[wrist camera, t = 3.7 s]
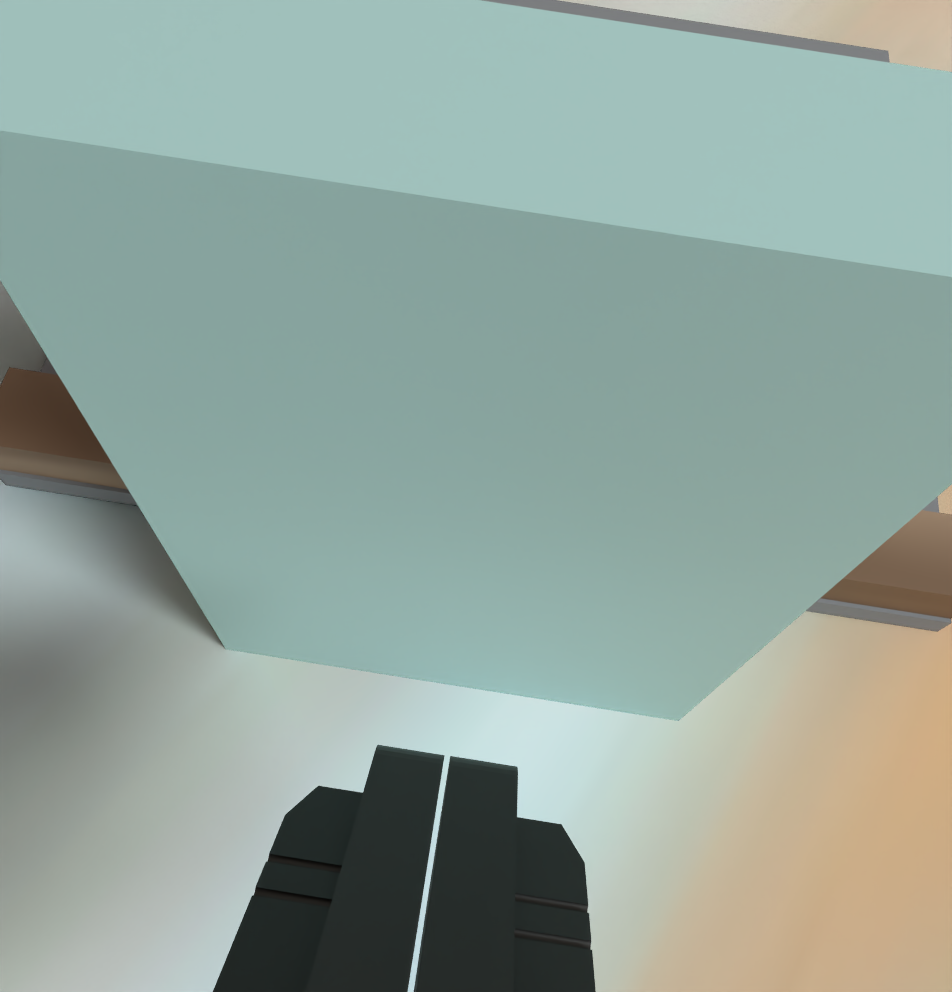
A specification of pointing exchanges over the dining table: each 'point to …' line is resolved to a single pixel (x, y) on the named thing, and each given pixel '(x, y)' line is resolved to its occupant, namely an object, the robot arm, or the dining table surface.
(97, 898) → the dining table surface
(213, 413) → the tile
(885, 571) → the grey board with ledge
